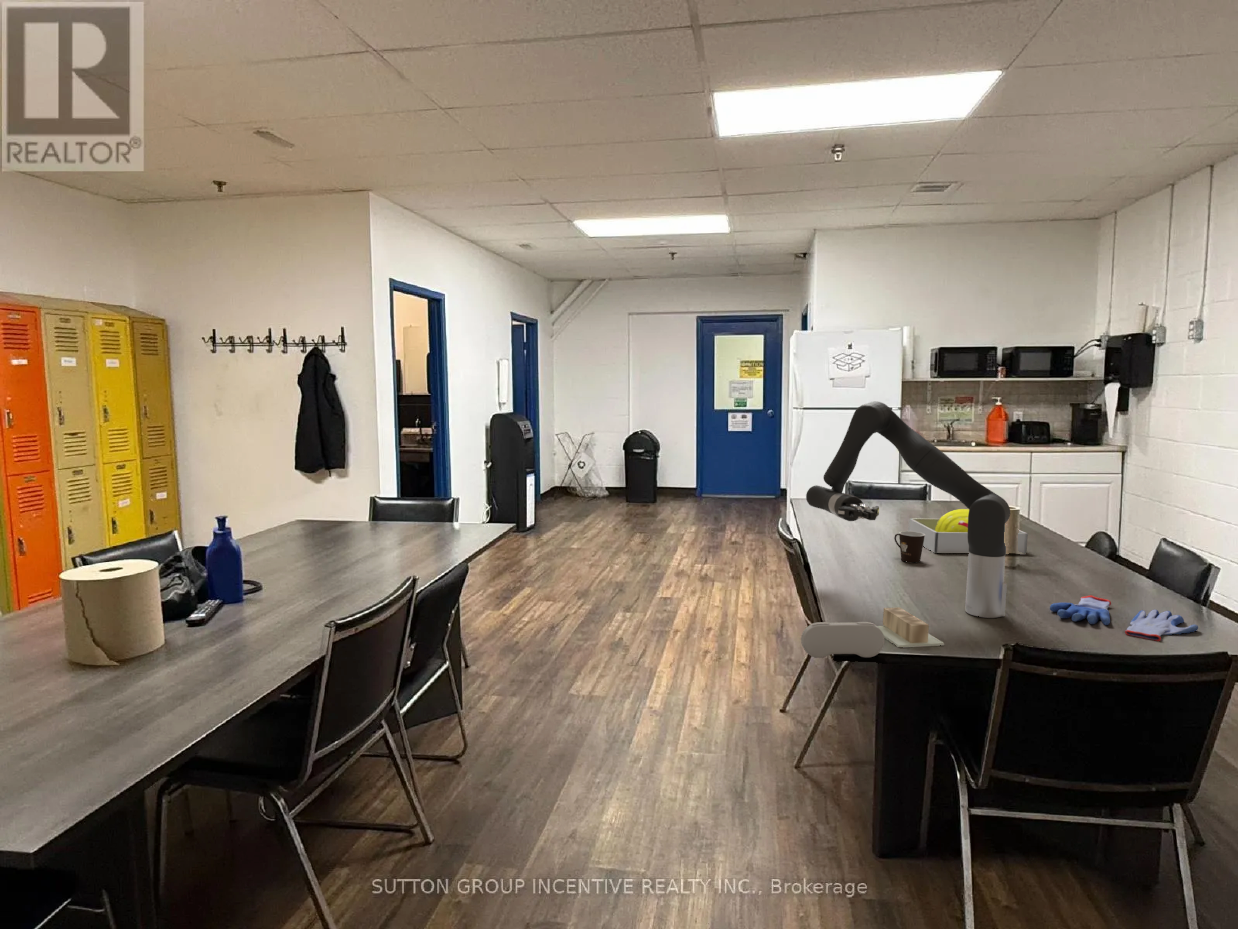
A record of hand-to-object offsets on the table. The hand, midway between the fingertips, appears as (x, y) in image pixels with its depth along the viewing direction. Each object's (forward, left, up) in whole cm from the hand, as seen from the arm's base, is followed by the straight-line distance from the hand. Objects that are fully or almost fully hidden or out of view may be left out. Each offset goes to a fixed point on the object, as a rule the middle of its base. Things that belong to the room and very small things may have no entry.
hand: (873, 516), depth 205 cm
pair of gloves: (-67, +5, -28) cm, 73 cm away
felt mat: (-3, +20, -27) cm, 34 cm away
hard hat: (-59, -83, -28) cm, 106 cm away
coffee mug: (-33, -61, -28) cm, 75 cm away
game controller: (+17, +34, -28) cm, 47 cm away
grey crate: (-63, -85, -27) cm, 109 cm away
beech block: (-2, +12, -25) cm, 27 cm away
